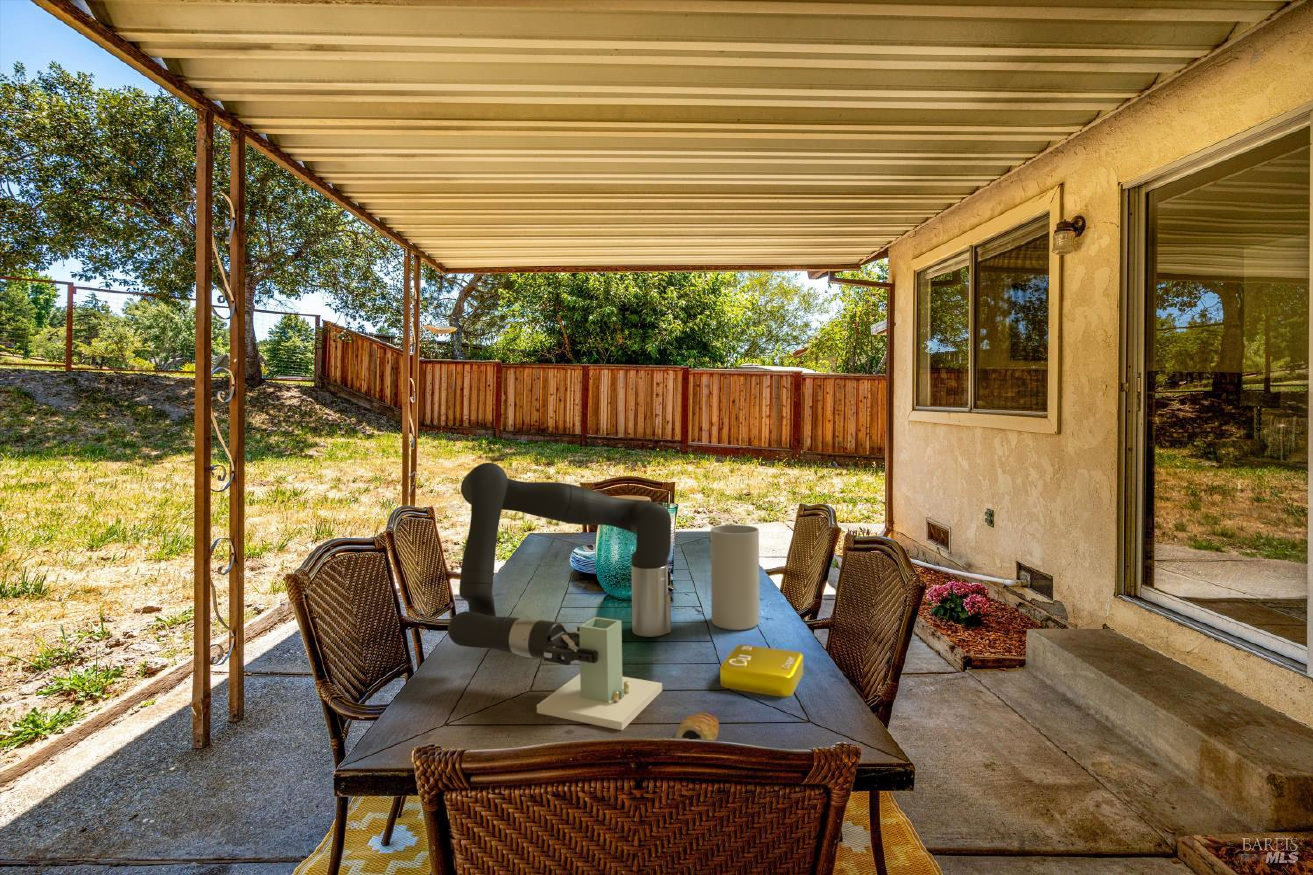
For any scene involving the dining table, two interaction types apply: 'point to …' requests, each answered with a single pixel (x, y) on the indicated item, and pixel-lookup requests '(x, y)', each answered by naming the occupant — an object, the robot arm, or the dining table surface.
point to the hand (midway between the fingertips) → (607, 649)
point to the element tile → (762, 670)
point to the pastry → (699, 727)
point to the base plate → (601, 703)
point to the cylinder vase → (735, 577)
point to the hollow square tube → (602, 659)
